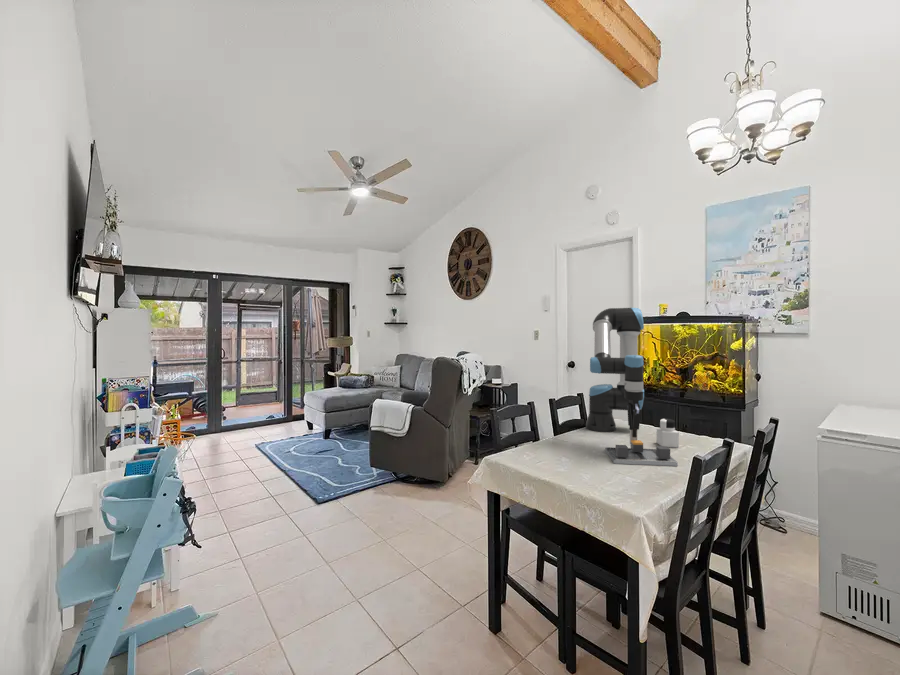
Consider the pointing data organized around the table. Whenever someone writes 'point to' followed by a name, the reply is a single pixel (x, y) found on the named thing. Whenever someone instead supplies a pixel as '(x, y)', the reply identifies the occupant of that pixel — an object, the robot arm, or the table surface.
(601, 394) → the robot arm
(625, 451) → the breaker
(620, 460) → the panel
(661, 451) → the block
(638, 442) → the block
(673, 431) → the medicine bottle
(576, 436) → the table surface
